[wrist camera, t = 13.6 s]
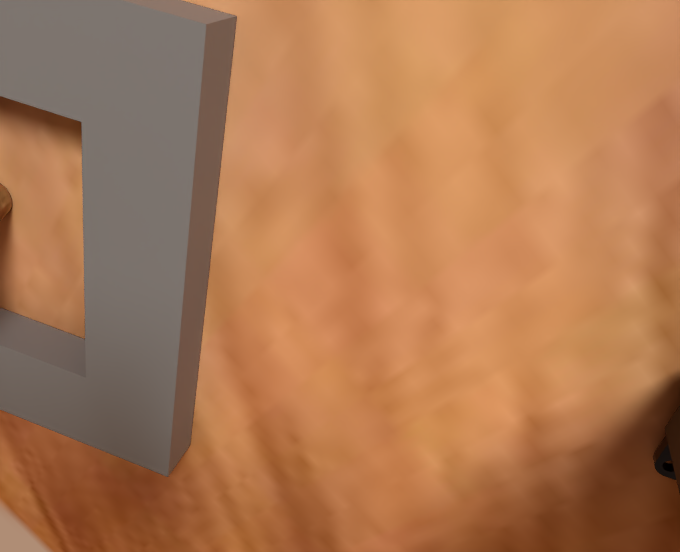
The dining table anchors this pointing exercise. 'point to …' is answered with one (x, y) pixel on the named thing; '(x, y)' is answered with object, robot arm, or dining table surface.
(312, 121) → the dining table surface
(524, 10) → the dining table surface
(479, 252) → the dining table surface
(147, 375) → the grey flat square frame
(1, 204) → the ice cream cone
